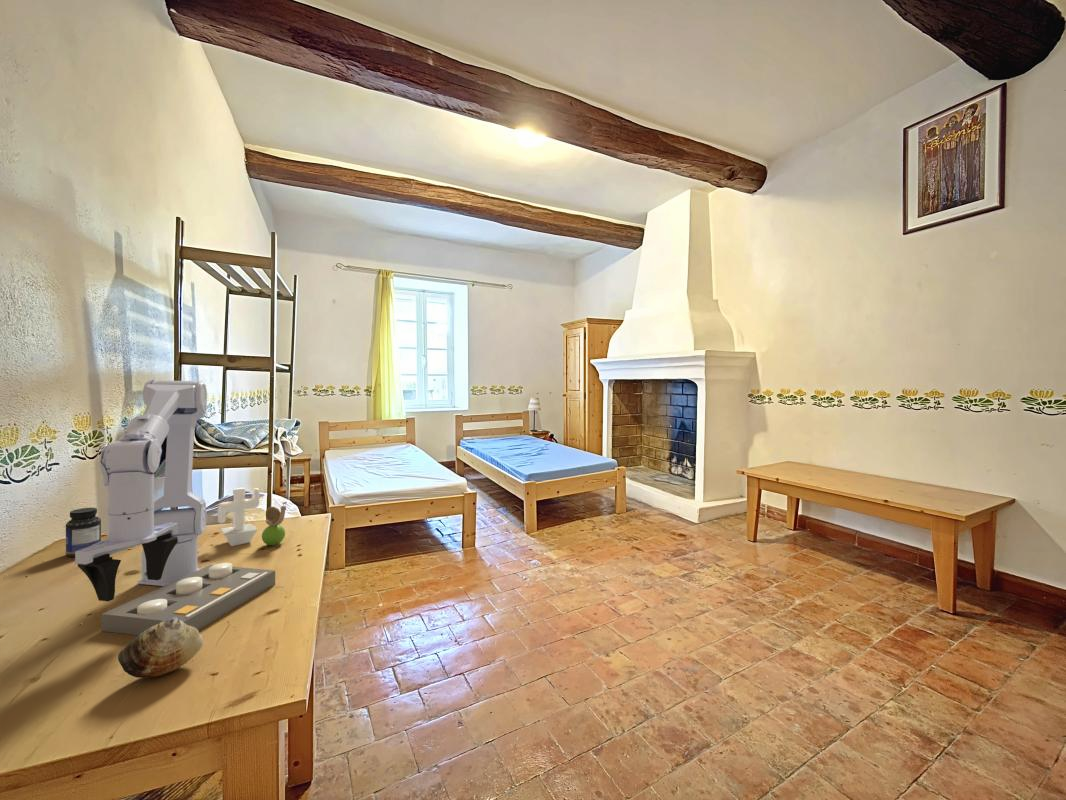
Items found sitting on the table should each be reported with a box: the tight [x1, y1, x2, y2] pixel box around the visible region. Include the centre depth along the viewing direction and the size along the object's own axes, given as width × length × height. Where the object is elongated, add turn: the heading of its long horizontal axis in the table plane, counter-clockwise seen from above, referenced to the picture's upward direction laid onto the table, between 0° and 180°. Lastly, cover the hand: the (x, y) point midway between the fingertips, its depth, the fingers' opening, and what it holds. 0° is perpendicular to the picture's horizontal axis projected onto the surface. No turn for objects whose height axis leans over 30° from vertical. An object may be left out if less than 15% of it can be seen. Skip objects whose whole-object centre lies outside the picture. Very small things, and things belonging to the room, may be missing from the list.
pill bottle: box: [65, 507, 102, 558], centre depth 106 cm, size 6×6×11 cm
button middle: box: [176, 577, 202, 596], centre depth 82 cm, size 4×4×3 cm
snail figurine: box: [261, 501, 288, 546], centre depth 114 cm, size 5×6×12 cm
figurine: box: [217, 487, 261, 547], centre depth 115 cm, size 7×9×15 cm
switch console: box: [101, 564, 276, 636], centre depth 82 cm, size 16×21×3 cm
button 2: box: [209, 562, 233, 580], centre depth 89 cm, size 4×4×3 cm
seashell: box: [117, 617, 204, 679], centre depth 62 cm, size 10×6×8 cm, turn 130°
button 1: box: [137, 599, 167, 615], centre depth 75 cm, size 4×4×3 cm
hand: (131, 589), depth 72 cm, fingers open, 7 cm apart
